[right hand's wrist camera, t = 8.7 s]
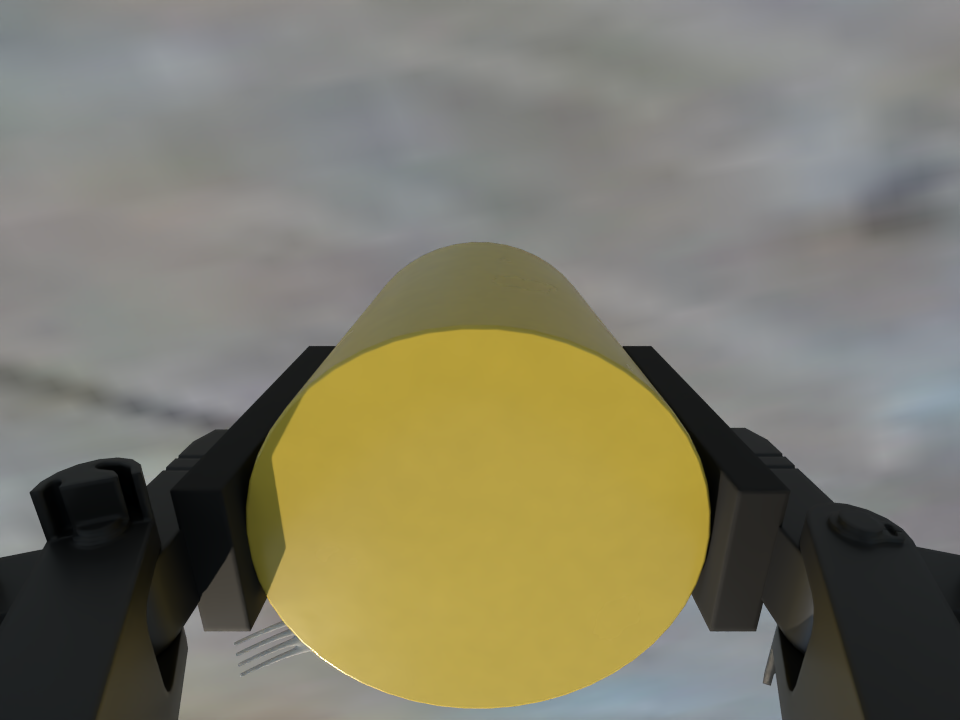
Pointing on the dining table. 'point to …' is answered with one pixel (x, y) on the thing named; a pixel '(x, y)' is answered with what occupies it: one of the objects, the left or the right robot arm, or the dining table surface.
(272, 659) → the fork
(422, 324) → the canister
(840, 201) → the dining table surface
